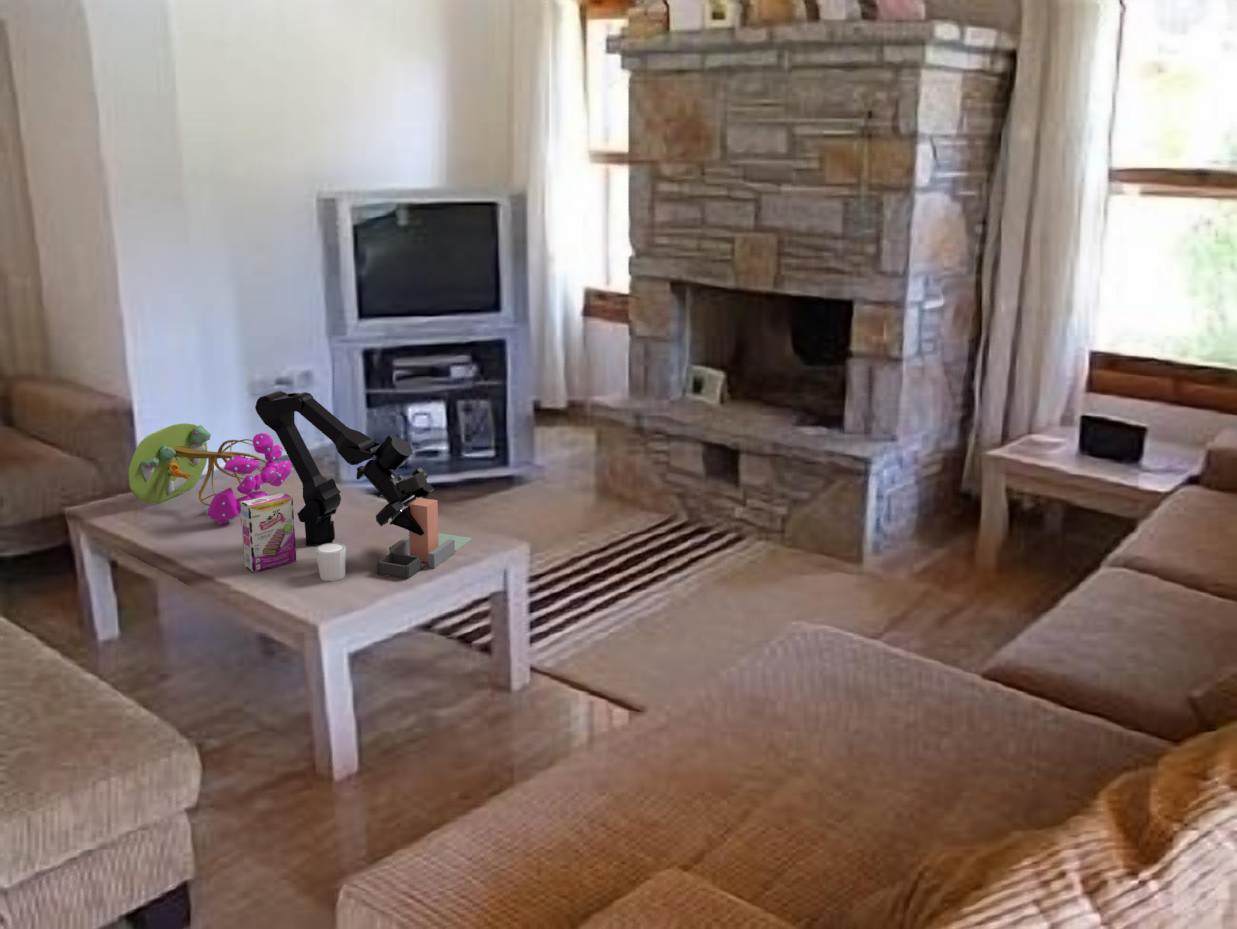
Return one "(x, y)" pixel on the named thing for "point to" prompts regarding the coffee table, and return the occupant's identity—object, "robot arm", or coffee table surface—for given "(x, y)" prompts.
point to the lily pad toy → (201, 468)
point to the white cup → (331, 561)
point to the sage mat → (458, 540)
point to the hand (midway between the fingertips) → (428, 530)
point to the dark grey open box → (399, 565)
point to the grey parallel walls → (434, 556)
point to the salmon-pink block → (424, 527)
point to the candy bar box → (268, 531)
